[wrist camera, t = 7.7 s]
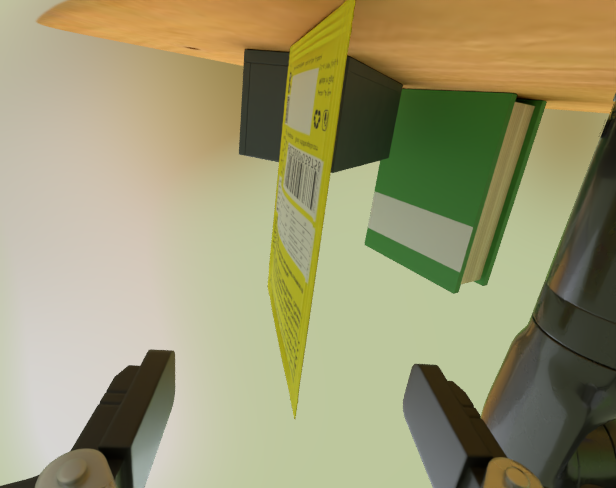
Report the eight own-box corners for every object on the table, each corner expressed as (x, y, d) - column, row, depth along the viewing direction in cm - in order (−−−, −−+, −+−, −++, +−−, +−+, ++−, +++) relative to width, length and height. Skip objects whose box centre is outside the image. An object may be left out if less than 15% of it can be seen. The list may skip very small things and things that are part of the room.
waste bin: (350, 56, 28) (333, 173, 31) (403, 85, 45) (388, 158, 49) (244, 49, 32) (238, 154, 35) (330, 78, 49) (321, 146, 52)
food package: (297, 47, 27) (273, 287, 34) (282, 44, 27) (261, 287, 34) (370, -6, 13) (303, 420, 20) (340, -12, 13) (283, 421, 20)
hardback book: (512, 93, 39) (453, 293, 47) (546, 101, 43) (486, 284, 51) (393, 88, 52) (364, 244, 61) (428, 95, 56) (396, 240, 65)
